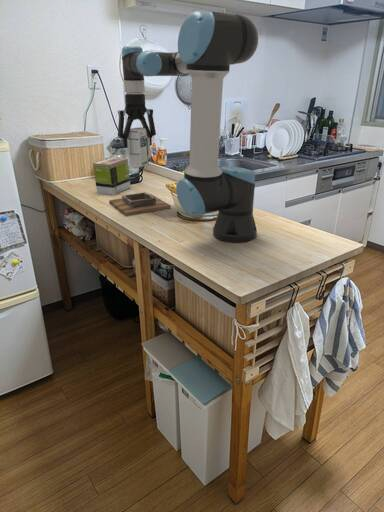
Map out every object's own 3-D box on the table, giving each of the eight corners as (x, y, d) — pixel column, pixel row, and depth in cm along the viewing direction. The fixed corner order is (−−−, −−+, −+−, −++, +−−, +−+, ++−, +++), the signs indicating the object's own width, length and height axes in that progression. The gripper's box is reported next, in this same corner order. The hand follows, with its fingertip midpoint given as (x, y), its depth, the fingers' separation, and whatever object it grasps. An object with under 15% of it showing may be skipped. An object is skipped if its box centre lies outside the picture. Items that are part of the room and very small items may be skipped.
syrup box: (141, 167, 149) (139, 129, 143) (129, 166, 152) (126, 128, 145) (148, 164, 154) (147, 127, 148) (136, 163, 156) (134, 126, 150)
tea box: (114, 186, 193) (112, 156, 187) (131, 188, 189) (128, 158, 183) (96, 193, 181) (92, 162, 175) (113, 195, 177) (109, 164, 171)
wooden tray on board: (170, 208, 158) (170, 199, 157) (125, 216, 149) (124, 206, 148) (150, 197, 174) (150, 188, 172) (109, 203, 165) (108, 194, 163)
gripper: (155, 92, 149) (157, 151, 158) (104, 93, 139) (110, 155, 149) (163, 93, 143) (165, 154, 153) (111, 94, 133) (116, 159, 143)
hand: (138, 154), depth 151 cm, fingers closed on syrup box, 8 cm apart
